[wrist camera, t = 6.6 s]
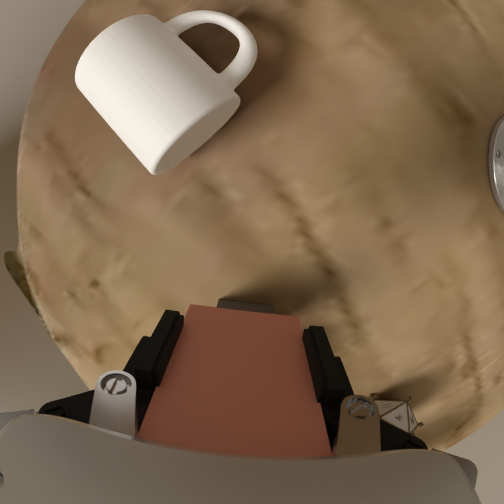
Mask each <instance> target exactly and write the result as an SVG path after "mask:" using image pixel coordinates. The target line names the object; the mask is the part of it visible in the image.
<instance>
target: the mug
mask: <svg viewBox="0 0 504 504" xmlns="http://www.w3.org/2000/svg"><path fill="white" fill-rule="evenodd" d="M202 23H214V24H218V25H220V26H222V27H224V28H226V29H228V30H229V31H230V32H232V33H233V34H234V35H235V36H236V37H237V38H238V40H239V42H240V48H239V51H238V53H237V55H236V57H235V58H234V59H233V61H232V62H231V63H230V64H229V66H228V67H227V68H226V69H225V70H224V71H223V72H221V73H216V72H215V71H214V70H213V69H212V68H211V67H210V66H209V65H208V64H207V63H205V62H204V61H203V60H202V59H201V58H200V57H199V56H198V55H197V54H196V53H195V52H194V51H193V50H192V49H191V48H190V47H189V46H188V45H186V44H185V43H184V42H183V41H182V40H181V39H180V38H179V37H178V35H179V34H180V33H182V32H184V31H185V30H187V29H189V28H191V27H193V26H195V25H198V24H202ZM257 54H258V49H257V44H256V41H255V38H254V36H253V35H252V33H251V32H250V31H249V29H248V28H247V27H246V26H245V25H244V24H242V23H241V22H240V21H238V20H237V19H235V18H233V17H231V16H229V15H227V14H224V13H220V12H216V11H209V10H198V11H191V12H187V13H184V14H181V15H179V16H176V17H174V18H173V19H171V20H169V21H167V22H166V23H162V22H161V21H159V20H158V19H157V18H156V17H154V16H151V15H146V14H141V15H134V16H130V17H127V18H124V19H122V20H120V21H118V22H116V23H114V24H112V25H111V26H109V27H108V28H106V29H105V30H104V31H102V32H101V33H100V34H99V35H98V36H97V37H96V38H95V39H94V40H93V41H92V42H91V43H90V44H89V46H88V47H87V48H86V50H85V51H84V53H83V54H82V56H81V58H80V60H79V62H78V65H77V68H76V72H75V82H76V85H77V87H78V88H79V90H80V91H81V92H82V93H83V94H84V96H85V97H86V98H87V99H88V100H89V102H90V103H91V104H92V105H93V106H94V108H95V109H96V110H97V111H98V112H99V114H100V115H101V116H102V117H103V118H104V119H105V121H106V122H107V123H108V124H109V125H110V127H111V128H112V129H113V130H114V131H115V132H116V134H117V135H118V136H119V137H120V138H121V139H122V141H123V142H124V143H125V144H126V145H127V146H128V148H129V149H130V150H131V151H132V152H133V153H134V155H135V156H136V157H137V158H138V159H139V160H140V161H141V163H142V164H143V165H144V166H145V167H146V168H147V169H148V171H149V172H150V173H151V174H153V175H159V174H162V173H164V172H166V171H168V170H170V169H171V168H173V167H174V166H176V165H177V164H179V163H180V162H182V161H183V160H184V159H186V158H187V157H188V156H190V155H191V154H192V153H193V152H195V151H196V150H197V149H198V148H199V147H201V146H202V145H203V144H204V143H205V142H206V141H207V140H209V139H210V138H211V137H212V136H213V135H214V134H215V133H216V132H217V131H218V130H219V129H220V128H221V127H222V126H223V125H224V124H225V123H226V122H227V121H228V120H229V119H230V118H231V117H232V115H233V114H234V113H235V112H236V110H237V109H238V107H239V105H240V97H239V96H238V95H237V94H236V93H235V92H234V89H235V88H236V87H237V86H238V85H239V84H240V83H241V82H242V81H243V80H244V79H245V78H246V77H247V75H248V74H249V73H250V71H251V70H252V68H253V67H254V65H255V62H256V59H257Z"/></svg>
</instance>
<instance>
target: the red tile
mask: <svg viewBox="0 0 504 504" xmlns="http://www.w3.org/2000/svg"><path fill="white" fill-rule="evenodd" d="M302 336H303V331H302V327H301V323H300V319H299V316H290V315H279V314H269V313H259V312H250V311H241V310H232V309H224V308H216V307H208V306H200V305H193V304H190V306H189V309H188V311H187V313H186V316H185V318H184V326H183V329H182V331H181V333H180V336H179V338H178V341H177V343H176V346H175V348H174V351H173V353H172V356H171V358H170V361H169V364H168V366H167V369H166V371H165V374H164V376H163V379H162V382H161V384H160V387H158V386H156V389H155V391H154V394H153V396H152V399H151V402H150V404H149V407H148V409H147V412H146V414H145V417H144V420H143V422H142V425H141V428H140V430H139V433H138V436H137V438H141V439H146V440H150V441H154V442H159V443H164V444H169V445H174V446H180V447H186V448H192V449H198V450H205V451H213V452H222V453H231V454H242V455H257V456H284V457H308V456H332V453H331V448H330V444H329V439H328V435H327V430H326V426H325V421H324V417H323V413H322V408H321V404H320V403H317V400H316V395H315V391H314V387H313V382H312V378H311V374H310V369H309V365H308V361H307V357H306V352H305V348H304V344H303V340H302Z"/></svg>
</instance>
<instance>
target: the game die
mask: <svg viewBox="0 0 504 504" xmlns="http://www.w3.org/2000/svg"><path fill="white" fill-rule="evenodd" d="M370 399H372V400H373V401H374V402H375V403H376V404H377V406H378V409H379V418H380V419H382V420H383V421H385V422H387V423H389V424H391V425H393V426H395V427H397V428H399V429H401V430H403V431H405V432H407V433H409V434H411V435H413V436H415V435H414V432H415V430H416V428H417V426H422V425H424V424H423V423H422V422H421V423H420V422H419V423H417V421H416V419H415V417H414V415H413V412H412V410H411V408H410V406H409V404H408V401H410V399H411V395H410V396H408V397H407V398H406V401H401V400H375V399H374V395H371V394H370Z"/></svg>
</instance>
